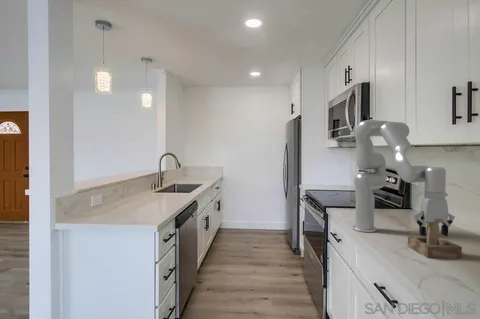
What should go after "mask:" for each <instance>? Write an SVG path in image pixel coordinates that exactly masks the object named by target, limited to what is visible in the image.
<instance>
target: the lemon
mask: <svg viewBox="0 0 480 319" xmlns="http://www.w3.org/2000/svg"><path fill="white" fill-rule="evenodd" d="M425 227H426V232H428V228H429V222H428V223H427V224H426V225H425ZM439 231H440V225H439V224H438V233H439Z"/></svg>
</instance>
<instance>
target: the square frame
mask: <svg viewBox="0 0 480 319" xmlns="http://www.w3.org/2000/svg"><path fill="white" fill-rule="evenodd" d="M407 247H408V248H410V249H412V250H413V251H415V252H416V253H417V254H420V255H422V256H424V257H426V258H427V259H453V258H454V259H456V258H458V259H459V258H462V254H463V253H462V252H463V249H462V248H463V247H462V246H461V245H458V244H457V243H455V242H452V241H449V240H447V239H445V238H442V237H440V236H438V243H437V245H428V244H427V236H408V237H407Z"/></svg>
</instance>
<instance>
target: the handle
mask: <svg viewBox="0 0 480 319" xmlns="http://www.w3.org/2000/svg"><path fill="white" fill-rule="evenodd" d="M435 220H436V222H435ZM440 222H443V219H434V222H433V223H429V228H428V231H427V233H426V237H427V244H428V245H437V243H438V237H439V232H438V225H439V224H440Z"/></svg>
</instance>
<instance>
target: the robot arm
mask: <svg viewBox="0 0 480 319" xmlns="http://www.w3.org/2000/svg"><path fill="white" fill-rule="evenodd" d="M409 134H410V128H409V126H408V125H407V124H406V123H404V122H402V121H401V122H400V121H388V120H380V119H379V120H377V119H366V120H362V121H360V122H359V123H358V124H357V126H356V127H355V131H354V139H355V145H356V146H355V147H356V150H355V152H356V166H357V168H358V169H360V170H365V172H364V171H362V172H359V173H357V174H356V175H355V176H354V179H353V183H354V184H353V185H354V190H355V217H354V218H355V219H354V221H355V223H354V224H353V225H352V229H353V230H355V231H358V232H363V233H374V232H375V233H376V232H377V231H378V228H377V227H376V226H375V194H374V192H373V191H372V190H379V189H382V188H383V187H385V185H386V182H387V173H386V171H387V167H386V166H387V164H386V162H387V161H386V158H385V157H384V155H383V154H382V153H380V152H374V144H373V141H372V139H371V137H382V138H383V139H384V141H385V143H386V144H387V145H388V148H389V149H390V151H391V152H392V165H393V168H394V170H395V171H396V173H397V175H398V177H399V178H400V179H401V180H403V182H405V183H410V184H411V183H424V190H423V191H424V193H423V194H424V197H423V198H421V202H420V205H419V206H420V207H419V212H418V213H417V214H415V215H413V219H414V221H415V223H417V225H418V226H419V228H418V229H419V230H418V231H419V235H420V236H421V237H427V229H426V226H427V223H428V222H429V223H433V222H434V219H443V222H440V223H441V224H442V225H441V230H440V231H441V232H440V233H441V235H443V236H444V237H448V236H449V227H450V226H451V224H453V222H454V220H455V218H456V216H455V215H453V214H451V213H449V208H448V201H447V199H446V197H448V195H449V194H448V193H447V192H446V185H447V184H446V183H447V182H446V179H447V171H446V169H445V167H440V166H427V165H411V164H410V162H409V160H408V159H407V157H406V153H407V152H408V151H409V150H411V147H412V144H411V142H410V141H409V140H408V136H409ZM366 170H367V171H366ZM368 170H370V171H368ZM435 222H436V220H435ZM440 223H439V224H440Z"/></svg>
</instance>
